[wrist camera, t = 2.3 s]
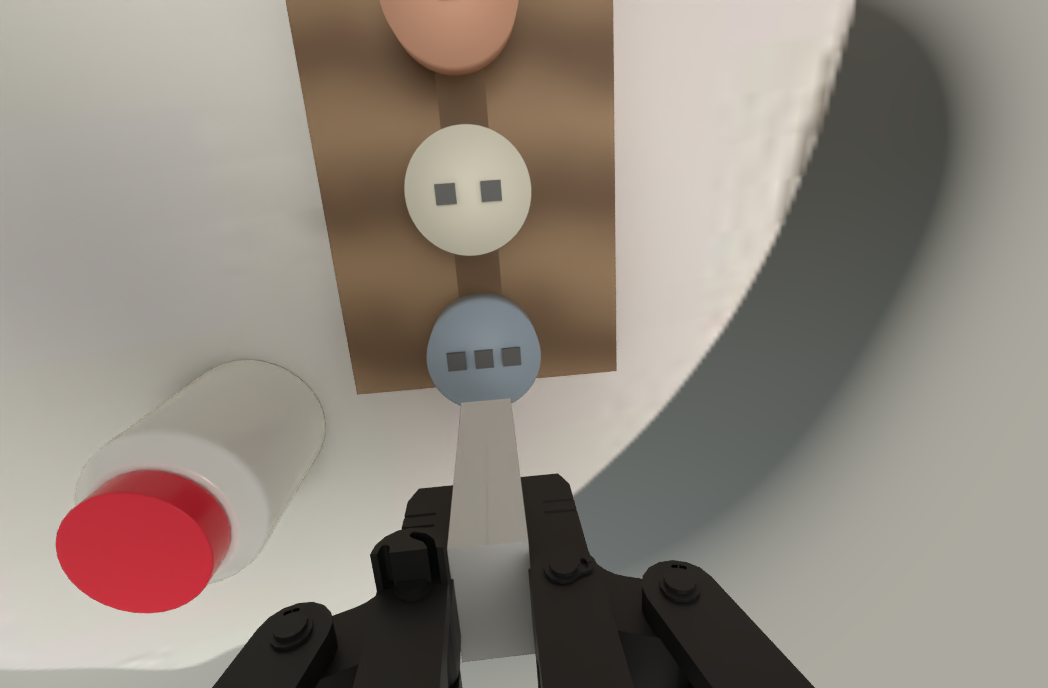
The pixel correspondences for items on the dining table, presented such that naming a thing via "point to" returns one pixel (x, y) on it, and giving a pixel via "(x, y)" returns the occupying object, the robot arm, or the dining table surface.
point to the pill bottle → (191, 488)
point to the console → (445, 100)
